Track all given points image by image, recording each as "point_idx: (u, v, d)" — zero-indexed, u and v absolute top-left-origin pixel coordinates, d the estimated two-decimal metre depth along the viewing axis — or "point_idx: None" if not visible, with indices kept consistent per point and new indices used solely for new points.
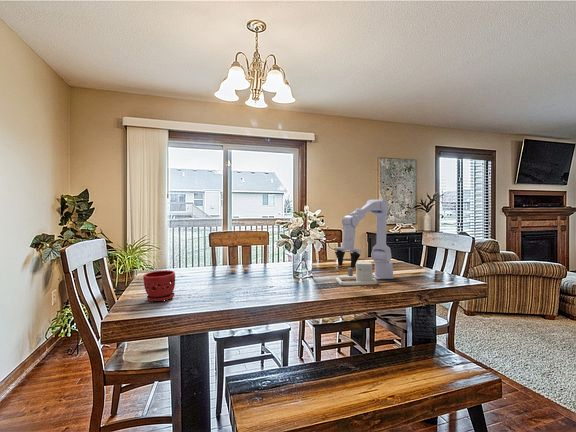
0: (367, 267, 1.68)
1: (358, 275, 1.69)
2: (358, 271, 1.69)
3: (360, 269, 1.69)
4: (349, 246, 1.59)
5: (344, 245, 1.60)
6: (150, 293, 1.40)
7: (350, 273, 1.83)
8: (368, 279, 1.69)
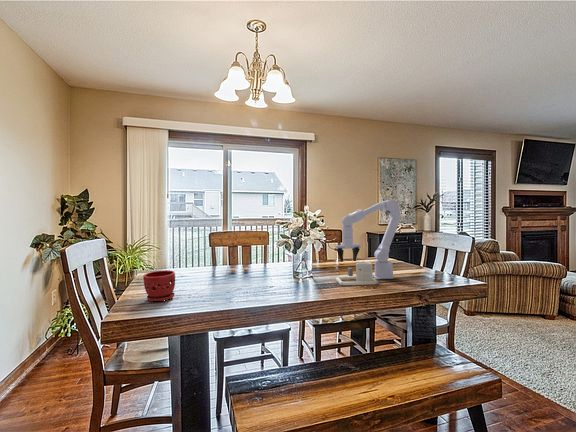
0: (367, 267, 1.68)
1: (358, 275, 1.69)
2: (358, 271, 1.69)
3: (360, 269, 1.69)
4: None
5: None
6: (150, 293, 1.40)
7: (350, 273, 1.83)
8: (368, 279, 1.69)
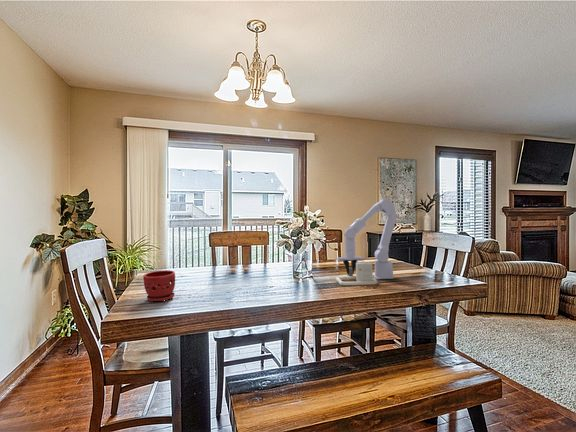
0: (367, 267, 1.68)
1: (358, 275, 1.69)
2: (358, 271, 1.69)
3: (360, 269, 1.69)
4: None
5: None
6: (150, 293, 1.40)
7: (350, 273, 1.83)
8: (368, 279, 1.69)
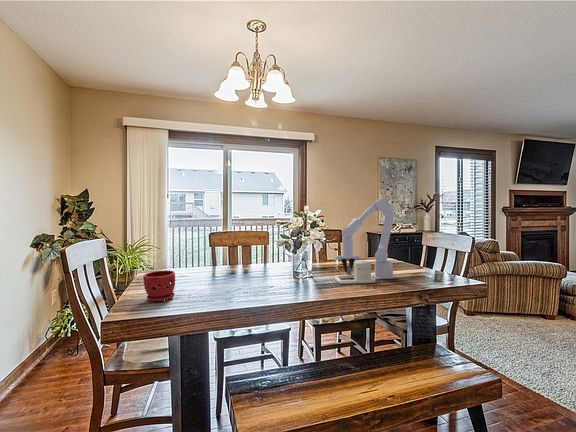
0: (366, 266, 1.71)
1: (357, 274, 1.70)
2: (357, 270, 1.70)
3: (359, 268, 1.70)
4: None
5: None
6: (150, 293, 1.40)
7: (348, 272, 1.86)
8: (367, 278, 1.71)
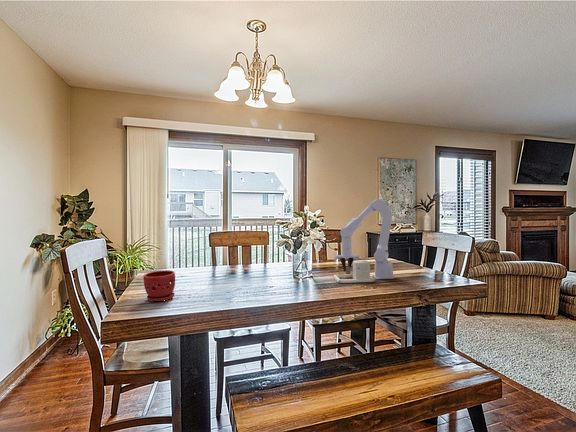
0: (365, 265, 1.72)
1: (356, 274, 1.72)
2: (356, 270, 1.72)
3: (359, 268, 1.72)
4: None
5: None
6: (150, 293, 1.40)
7: (348, 271, 1.88)
8: (366, 277, 1.73)
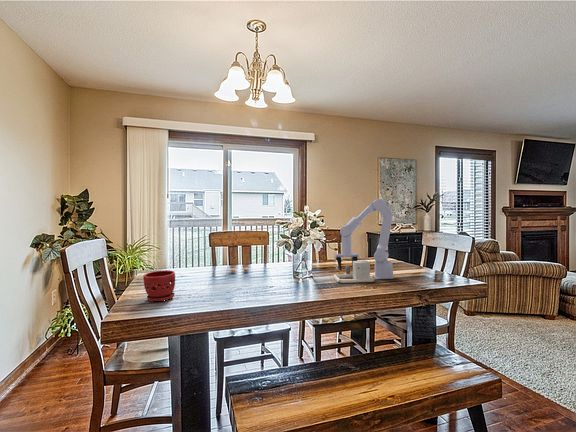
0: (365, 265, 1.73)
1: (356, 274, 1.73)
2: (356, 270, 1.72)
3: (358, 267, 1.72)
4: None
5: None
6: (150, 293, 1.40)
7: (347, 271, 1.88)
8: (366, 277, 1.73)
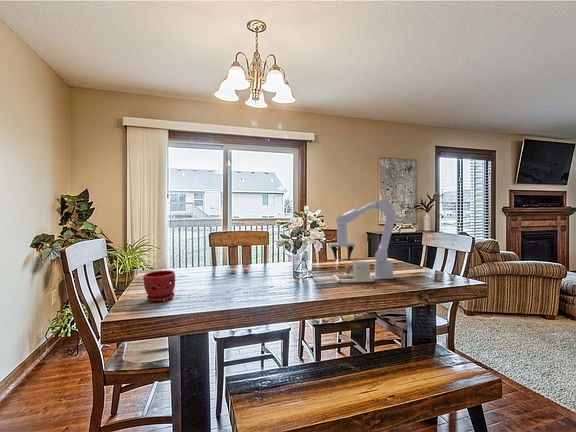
0: (365, 265, 1.73)
1: (356, 274, 1.73)
2: (356, 270, 1.72)
3: (358, 267, 1.72)
4: None
5: None
6: (150, 293, 1.40)
7: (347, 271, 1.88)
8: (366, 277, 1.73)
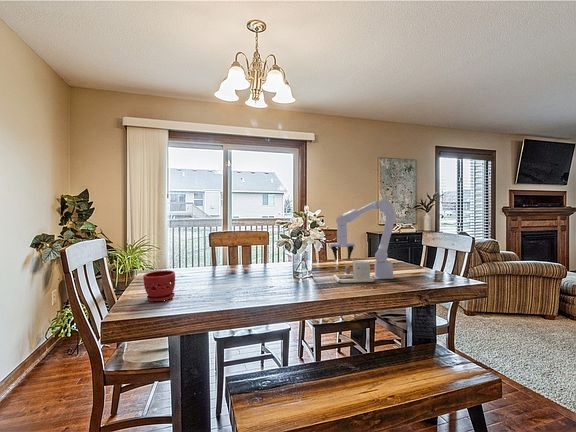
0: (365, 265, 1.73)
1: (356, 274, 1.73)
2: (356, 270, 1.72)
3: (358, 267, 1.72)
4: None
5: None
6: (150, 293, 1.40)
7: (347, 271, 1.88)
8: (366, 277, 1.73)
